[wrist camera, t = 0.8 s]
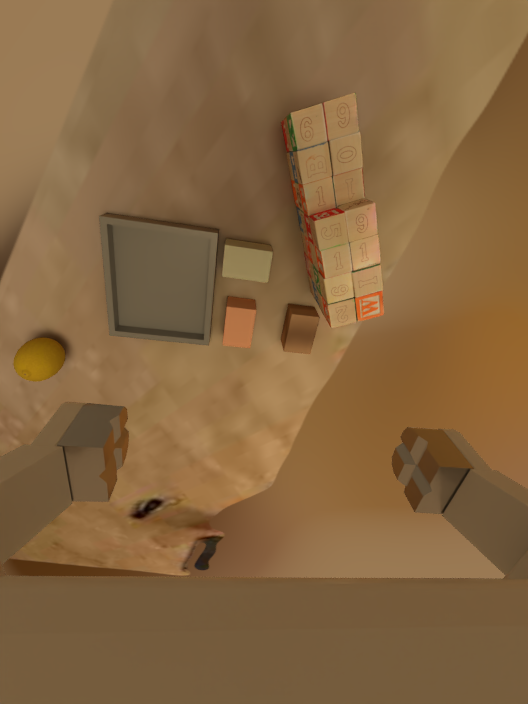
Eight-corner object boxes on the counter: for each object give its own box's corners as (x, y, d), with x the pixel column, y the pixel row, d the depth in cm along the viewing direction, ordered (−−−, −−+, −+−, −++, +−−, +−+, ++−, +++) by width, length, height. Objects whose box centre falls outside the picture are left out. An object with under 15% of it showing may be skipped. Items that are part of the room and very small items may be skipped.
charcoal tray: (106, 213, 41) (99, 215, 39) (219, 229, 43) (217, 233, 41) (115, 327, 49) (109, 335, 47) (210, 337, 51) (208, 345, 49)
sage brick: (226, 238, 44) (224, 244, 40) (270, 244, 45) (273, 252, 41) (223, 267, 46) (221, 276, 42) (265, 273, 46) (267, 282, 43)
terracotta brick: (227, 295, 48) (226, 306, 44) (254, 299, 48) (256, 310, 45) (223, 332, 51) (222, 345, 47) (249, 335, 51) (250, 348, 48)
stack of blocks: (278, 121, 38) (294, 105, 27) (332, 105, 37) (370, 83, 27) (310, 293, 48) (331, 330, 38) (352, 282, 48) (385, 316, 37)
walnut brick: (288, 303, 49) (291, 314, 46) (314, 306, 50) (319, 317, 46) (280, 338, 52) (283, 351, 48) (305, 341, 52) (310, 354, 49)
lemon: (79, 359, 51) (54, 390, 44) (42, 361, 51) (11, 393, 44) (67, 327, 48) (38, 355, 41) (28, 329, 48) (-7, 357, 41)
